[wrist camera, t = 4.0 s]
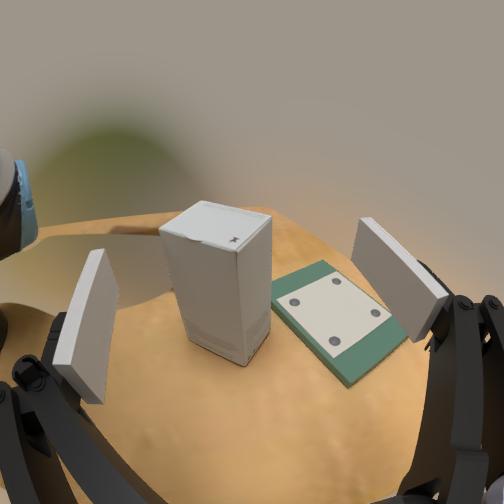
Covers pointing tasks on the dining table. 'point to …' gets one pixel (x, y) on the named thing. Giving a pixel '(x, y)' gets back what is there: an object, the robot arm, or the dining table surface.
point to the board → (336, 320)
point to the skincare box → (221, 276)
